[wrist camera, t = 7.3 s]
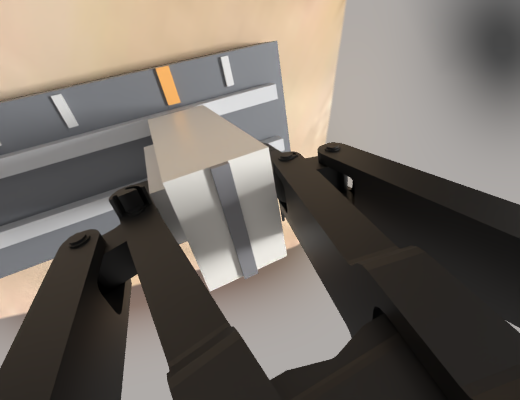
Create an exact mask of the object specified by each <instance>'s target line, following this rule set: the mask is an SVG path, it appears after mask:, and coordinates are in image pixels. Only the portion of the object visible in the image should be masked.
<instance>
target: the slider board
mask: <svg viewBox="0 0 520 400" xmlns="http://www.w3.org/2000/svg"><path fill="white" fill-rule="evenodd" d="M200 105H204V106H205V107H207V108H209V109H210V110H212V111H213V112H215V113H216V114H218V115H219V116H221V117H223V118H224V119H226V120H227V121H229V122H230V123H232V124H233V125H235V126H236V127H238V128H240V129H241V130H243V131H244V132H246V133H247V134H249V135H250V136H252V137H254V138H255V139H257V140H258V141H260V142H262V143H268V144H270V145H271V146H272V147H274V148H276V149H278V150H279V151H281V152H282V153H283V152H291V150H290V142H289V134H288V126H287V118H286V110H285V101H284V93H283V85H282V77H281V69H280V61H279V53H278V44H277V41H272V42H264V43H259V44H255V45H250V46H246V47H242V48H237V49H233V50H228V51H224V52H219V53H215V54H210V55H206V56H201V57H197V58H192V59H188V60H184V61H179V62H175V63H170V64H166V65H161V66H157V67H152V68H148V69H143V70H139V71H134V72H130V73H126V74H121V75H117V76H112V77H108V78H103V79H99V80H94V81H90V82H85V83H81V84H76V85H72V86H68V87H63V88H59V89H54V90H50V91H45V92H41V93H36V94H32V95H27V96H23V97H18V98H14V99H10V100H5V101H1V102H0V278H3V277H5V276H8V275H11V274H13V273H16V272H19V271H22V270H24V269H27V268H30V267H32V266H35V265H38V264H40V263H43V262H46V261H48V260H51V259H54V257H55V255H56V253H57V251H58V249H59V247H60V246H61V245H62V243H63V242H65V241H66V240H67V239H68V238H69V237H70V236H72V235H74V234H76V233H78V232H82V231H85V230H89V229H96V230H98V231H99V232H100V234H101V235H103V234H105V233H107V232H109V231H111V230H113V229H114V228H116V227H117V226H118V225H120V224H121V223H120V220H119V218H118V216H117V214H116V213H115V211H114V209H113V207H112V206H111V204H110V202H109V197H110V196H111V195H112V194H113V193H115V192H116V191H118V190H120V189H122V188H124V187H127V186H130V185H134V184H137V183H140V182H144V181H147V180H148V178H147V170H146V162H145V154H144V147H146V146H150V145H153V141H152V137H151V132H150V128H149V124H148V120H149V119H152V118H156V117H160V116H163V115H167V114H171V113H174V112H178V111H182V110H185V109H189V108H193V107H196V106H200Z"/></svg>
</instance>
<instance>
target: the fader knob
mask: <svg viewBox="0 0 520 400" xmlns="http://www.w3.org/2000/svg"><path fill="white" fill-rule="evenodd" d="M148 124H149V128H150V132H151V137H152V141H153V145H154V149H155V153H156V158H157V162H158V166H159V170H160V174H161V179H162V183H163V185H164V187H165V190H166V192H167V194H168V197H169V199H170V201H171V204H172V206H173V208H174V210H175V213H176V215H177V217H178V220H179V222H180V224H181V226H182V229H183V231H184V233H185V236H186V238H187V240H188V243H189V245H190V247H191V249H192V252H193V254H194V256H195V259H196V261H197V263H198V266H199V268H200V270H201V272H202V275H203V277H204V279H205V282H206V284H207V286H208V288H209V291H212V290H214V289H216V288H219V287H221V286H223V285H225V284H227V283H229V282H231V281H234V280H236V279H238V278H240V277H242V276H244V278H245V279H247V278H249V277H251V276H253V275H255V274H257V273H258V270H257V269H259V268H262V267H264V266H266V265H268V264H270V263H272V262H275V261H277V260H279V259H281V258H283V257H285V256H287V253H286V247H285V241H284V235H283V229H282V224H281V218H280V212H279V206H278V200H277V194H276V188H275V182H274V176H273V171H272V165H271V159H270V153H269V147H267V146H266V145H264V144H263V143H261V142H260V141H258V140H257V139H255V138H254V137H252V136H250V135H249V134H247V133H246V132H244V131H243V130H241V129H240V128H238V127H236V126H235V125H233V124H232V123H230V122H229V121H227V120H226V119H224V118H223V117H221V116H219V115H218V114H216V113H215V112H213V111H212V110H210V109H209V108H207V107H205V106H204V105H200V106H196V107H193V108H189V109H185V110H182V111H178V112H174V113H171V114H167V115H163V116H160V117H156V118H152V119H149V120H148Z"/></svg>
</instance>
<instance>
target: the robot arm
mask: <svg viewBox="0 0 520 400" xmlns="http://www.w3.org/2000/svg"><path fill="white" fill-rule="evenodd" d="M261 143H262V142H261ZM263 144H264V145H266V146H267V147H269V153H270V159H271V165H272V171H273V176H274V182H275V188H276V194H277V198H278V199H279V203H280V209H281V215H282V221H285V219H284V218H285V217H286V219H287V221H288V223H289V224H290V226H291V228H292V230H293V232H294V233H295V235H296V237H297V239H298V240H299V242H300V244H301V246H302V247H303V249H304V251H305V253H306V254H307V256H308V258H309V260H310V261H311V263H312V265H313V267H314V269H315V270H316V272H317V274H318V276H319V277H320V279H321V281H322V283H323V284H324V286H325V288H326V290H327V291H328V293H329V295H330V297H331V298H332V300H333V302H334V304H335V306H336V307H337V309H338V311H339V313H340V314H341V316H342V318H343V320H344V321H345V323H346V325H347V327H348V329H349V331H350V334H351V337H352V339H351V340H350V341H349V342H348V343H347V345H346V346H345V347H344V348H343V349H342V350H341V351H340V353H339V354H338V355H337V356H336V357H334V358H333V359H330V360H326V361H322V362H318V363H314V364H311V365H307V366H303V367H299V368H295V369H291V370H287V371H285V372H284V373H282V374H280V375H278V376H277V377H275V378H273V379H271V380H269V379H268V377H267V376H266V374H265V372H264V371H263V369H262V368H261V366H260V365H259V363H258V362H257V360H256V359H255V357H254V355H253V354H252V352H251V351H250V349H249V348H248V347H247V345H246V343H245V342H244V340H243V339H242V337H241V336H240V334H239V333H238V332H237V330H236V329H235V328H234V327H231V326H230V324H229V323H228V321H227V320H226V318H225V317H224V315H223V313H222V312H221V311H220V309H219V307H218V305H217V304H216V302H215V301H214V299H213V298H212V296H211V295H210V293H209V291H208V290H207V288H206V287H205V285H204V283H203V282H202V280H201V279H200V277H199V276H198V274H197V273H196V271H195V269H194V268H193V266H192V265H191V263H190V261H189V260H188V258H187V257H186V255H185V253H184V252H183V250H182V249H181V247H180V246H179V244H181V243H184V242H186V241H188V240H187V238H186V236H185V233H184V231H183V229H182V226H181V224H180V222H179V220H178V217H177V215H176V213H175V210H174V208H173V206H172V204H171V201H170V199H169V197H168V194H167V192H166V190H165V187H164V185H163V183H162V179H161V174H160V170H159V166H158V162H157V158H156V153H155V149H154V145H150V146H146V147H144V154H145V162H146V170H147V178H148V180H147V181H144V182H140V183H137V184H134V185H130V186H127V187H124V188H122V189H120V190H118V191H116V192H115V193H113V194H112V195H111V196H110V197H109V202H110V204H111V206H112V207H113V209H114V211H115V213H116V214H117V216H118V218H119V220H120V223H121V224H120V225H118V226H117V227H116V228H114V229H113V230H111V231H109V232H107V233H105V234H103V235H101V234H100V232H99V231H98V230H96V229H89V230H85V231H82V232H78V233H76V234H74V235H72V236H70V237H69V238H68V239H67V240H66V241H65V242H63V243H62V245H61V246H60V247H59V249H58V251H57V253H56V255H55V257H54V259H53V261H52V263H51V265H50V268H49V270H48V272H47V274H46V276H45V278H44V280H43V282H42V284H41V286H40V288H39V290H38V292H37V294H36V296H35V298H34V300H33V302H32V304H31V306H30V309H29V311H28V313H27V315H26V317H25V319H24V321H23V323H22V325H21V327H20V329H19V331H18V333H17V335H16V337H15V339H14V341H13V343H12V345H11V348H10V350H9V352H8V354H7V356H6V358H5V360H4V362H3V364H2V366H1V368H0V400H121V392H122V381H123V370H124V359H125V348H126V338H127V327H128V316H129V306H130V295H131V284H132V283H131V279H130V278H132V277H133V276H135V275H136V274H138V276H139V279H140V282H141V285H142V288H143V291H144V294H145V297H146V300H147V303H148V306H149V309H150V312H151V315H152V318H153V321H154V324H155V327H156V330H157V333H158V336H159V339H160V341H161V345H162V347H163V350H164V353H165V356H166V359H167V362H168V366H169V370H170V372H169V373H167V381H168V385H169V388H170V392H171V395H172V398H173V400H520V333H519V332H518V331H517V330H516V329H514V328H513V327H512V326H511V325H510V324H509V323H508V322H510V323H512V324H514V325H515V326H517V327H519V328H520V205H519V204H516V203H513V202H510V201H507V200H504V199H501V198H499V197H495V196H493V195H490V194H487V193H484V192H481V191H478V190H475V189H472V188H470V187H466V186H464V185H461V184H458V183H455V182H452V181H449V180H446V179H444V178H441V177H438V176H435V175H432V174H429V173H426V172H423V171H420V170H418V169H415V168H412V167H409V166H406V165H403V164H400V163H397V162H394V161H391V160H389V159H386V158H383V157H380V156H377V155H374V154H371V153H368V152H365V151H362V150H360V149H357V148H354V147H351V146H348V145H345V144H341V143H335V142H332V143H327V144H325V145H322V146H320V147H319V148H318V156H316V157H311V158H304V157H303V156H302V155H301V154H299V153H297V152H283V153H282V152H281V151H279V150H278V149H276V148H274V147H272V146H271V145H270V144H268V143H263ZM348 176H349V177H350V178H351V179H352V180H353V186H352V188H350V187H348V186H347V182H348V178H347V177H348ZM505 320H506V321H508V322H506V321H505Z"/></svg>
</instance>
